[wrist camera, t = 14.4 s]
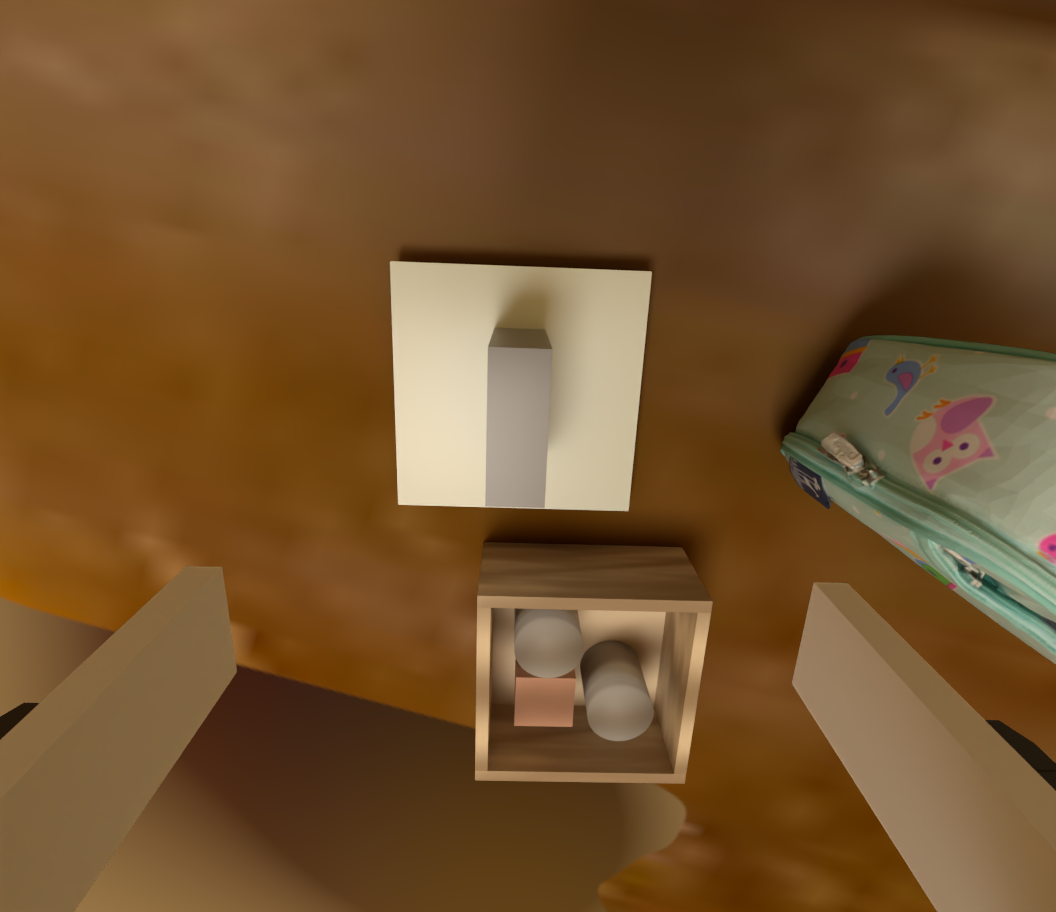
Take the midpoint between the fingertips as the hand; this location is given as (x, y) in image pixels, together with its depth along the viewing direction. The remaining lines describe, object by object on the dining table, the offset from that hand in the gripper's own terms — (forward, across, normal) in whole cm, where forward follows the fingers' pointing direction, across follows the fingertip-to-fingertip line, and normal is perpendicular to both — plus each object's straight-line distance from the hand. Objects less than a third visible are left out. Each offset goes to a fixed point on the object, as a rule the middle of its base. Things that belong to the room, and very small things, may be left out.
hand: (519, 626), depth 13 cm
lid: (+26, 0, 0) cm, 26 cm away
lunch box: (+26, +28, -5) cm, 39 cm away
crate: (+26, +5, -18) cm, 32 cm away
